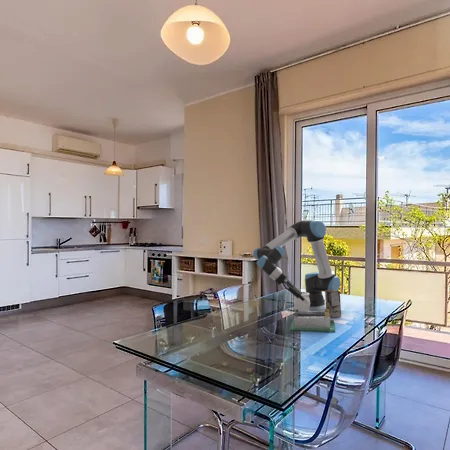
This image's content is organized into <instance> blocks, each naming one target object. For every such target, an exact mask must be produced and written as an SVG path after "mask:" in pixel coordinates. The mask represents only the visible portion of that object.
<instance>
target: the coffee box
mask: <svg viewBox="0 0 450 450" xmlns="http://www.w3.org/2000/svg"><path fill="white" fill-rule="evenodd" d="M324 300H325V309H329V314H330V318H338V317H340V318H341V317H342V309H341V308H342V307H341V292H340V290H338V291H337V290H334V289H330V290H325V291H324Z"/></svg>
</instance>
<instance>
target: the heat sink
mask: <svg viewBox="0 0 450 450" xmlns="http://www.w3.org/2000/svg"><path fill="white" fill-rule="evenodd" d="M296 311H298V309H296ZM305 312H325V316H315V315H298V312H294V316H293V318H292V321H291V324H290V328H289V331H290V332H310V333H311V332H313V333H317V332H318V333H336V326H335V319H330V318H331V316H330V314H329V309H326V308H325V309H324V311H318V310H316V311H314V310H313V311H312V310H309V311H305Z"/></svg>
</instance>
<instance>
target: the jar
mask: <svg viewBox="0 0 450 450" xmlns="http://www.w3.org/2000/svg"><path fill="white" fill-rule="evenodd" d="M301 292H302V295H303V296H304V297H305V298H306V299H308V300H309V301H310V299H309V293H308V292H306V291H301ZM292 301H293V307H294V311H295V312H296V309H298V311H310V307H311V306H310V303H309V304H308V305H306V304H305V303H303V302H302V301H301V300H300V299H299V298H298V299H297V297H296V296H294V295H293V300H292ZM295 312H294V313H295Z"/></svg>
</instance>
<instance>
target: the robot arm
mask: <svg viewBox="0 0 450 450" xmlns="http://www.w3.org/2000/svg"><path fill="white" fill-rule="evenodd" d="M326 233H327V226H326V225H325V223H324V221H321V220H319V219H307V220H300V221H297V222H295V223H293V224H292V225H290V226H289V227H287V228H286V230H285V231H284V232H282V233H281V234H280V235H278V236H277V237H275V238H274V239H272V240H271V241H269V242H268V243H266V244H265V245H263V246H262V247H257V248H255V249H254V250H253V254H252V255H253V258H254V259H255V260H257V261H256V265H257V266H258V267H259V268H260V269H261V270H262V271H263V272H264V273H265V274H266V275H267V276H269V279H271V280H273V281H274V282H275V283H276V284H277V286H279V285H281V284H282V286H283V287H284V289H285V290H287V291H288V292H289V293H291V294H292V295H293V297H294V296H296V297H297V299H298V298H299V299H300V300H301V301H302V302H303V303H305V304H306V305H308V304H309V303H310V307H318V306H319V307H320V306H325V305H326V300H325V296H324V295H323V292H325V290H330V289H334V290H337V291H339V289H340V286H341V278H340V277H339V276H337V275H336V274H335V271H333V270H332V267H331V264H330V261H329V258H328V253H327V250H326V246H325V243H324V239H325V236H326ZM298 238H306V240H307V242H308V243H310V246H311V249H312V253H313V256H314V260H315V263H316V266H317V269H318V271H314V272H308V273H306V274H305V275H304V284H305V292H308V293H309V299H310V301H309V300H308V299H306V298H305V297H304V296H303V295H302V292H303V291H300V290H299V289H298V288H297V287H296V286H295V285H294V284H293V283H292V282H291V281H290V280H287V278H288V275H287V274H286V273H285V272H283V270H282V269H281V268H279V266H277V264H278V262H279V261H280V260H281V259H282V258H283V257H284V255H285V253H286V252H285V249H284V248H283V247H284V246H286V245H287V244H289V243H290V242H292V241H294V240H297V239H298Z"/></svg>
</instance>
